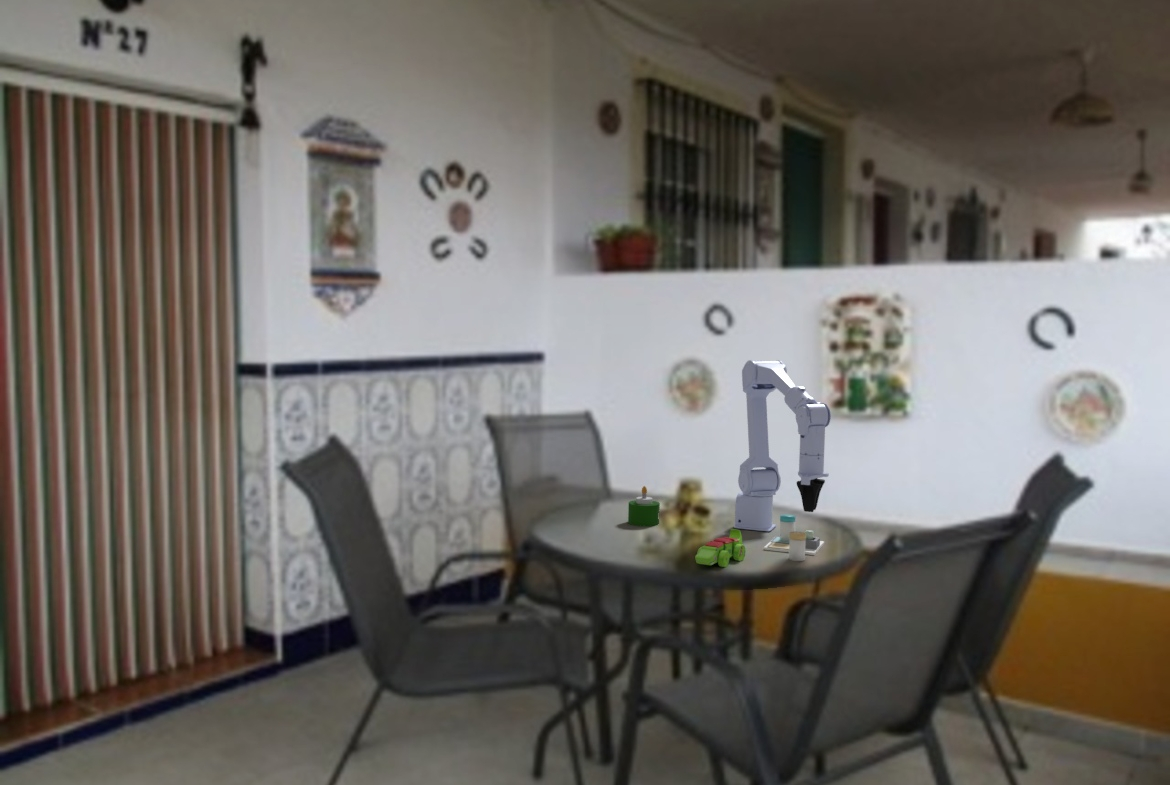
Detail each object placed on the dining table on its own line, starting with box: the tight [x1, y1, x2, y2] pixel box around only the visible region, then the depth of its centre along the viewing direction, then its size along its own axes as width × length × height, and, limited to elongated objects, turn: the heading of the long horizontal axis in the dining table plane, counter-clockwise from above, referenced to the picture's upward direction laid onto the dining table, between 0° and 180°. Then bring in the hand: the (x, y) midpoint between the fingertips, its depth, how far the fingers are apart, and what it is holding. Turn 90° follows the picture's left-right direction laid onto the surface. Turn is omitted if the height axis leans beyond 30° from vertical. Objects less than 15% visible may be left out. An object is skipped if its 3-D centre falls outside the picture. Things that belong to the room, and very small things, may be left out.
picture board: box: [763, 535, 825, 556], centre depth 241 cm, size 12×13×3 cm
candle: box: [627, 485, 661, 527], centre depth 265 cm, size 8×8×10 cm
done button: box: [804, 529, 814, 540], centre depth 238 cm, size 2×2×2 cm
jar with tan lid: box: [788, 531, 806, 562], centre depth 229 cm, size 4×4×6 cm
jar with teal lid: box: [779, 514, 796, 542], centre depth 244 cm, size 4×4×6 cm
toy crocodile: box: [694, 528, 746, 568], centre depth 225 cm, size 20×7×6 cm, turn 144°
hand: (809, 510), depth 238 cm, fingers closed
